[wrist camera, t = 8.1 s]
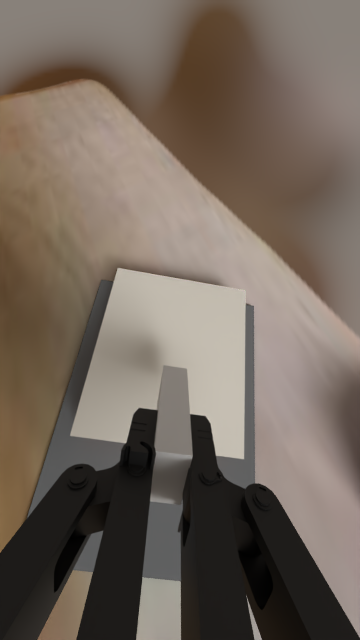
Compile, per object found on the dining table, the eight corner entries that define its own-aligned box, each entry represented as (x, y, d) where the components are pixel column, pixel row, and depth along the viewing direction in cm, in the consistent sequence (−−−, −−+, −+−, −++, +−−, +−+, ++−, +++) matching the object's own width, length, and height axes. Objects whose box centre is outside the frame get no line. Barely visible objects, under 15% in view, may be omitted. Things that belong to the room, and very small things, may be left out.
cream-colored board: (244, 459, 18) (245, 290, 24) (69, 435, 17) (117, 267, 23) (230, 456, 20) (235, 305, 26) (80, 436, 20) (120, 285, 26)
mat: (253, 585, 17) (255, 588, 17) (15, 560, 16) (12, 563, 16) (252, 307, 27) (253, 305, 27) (102, 281, 26) (101, 279, 26)
